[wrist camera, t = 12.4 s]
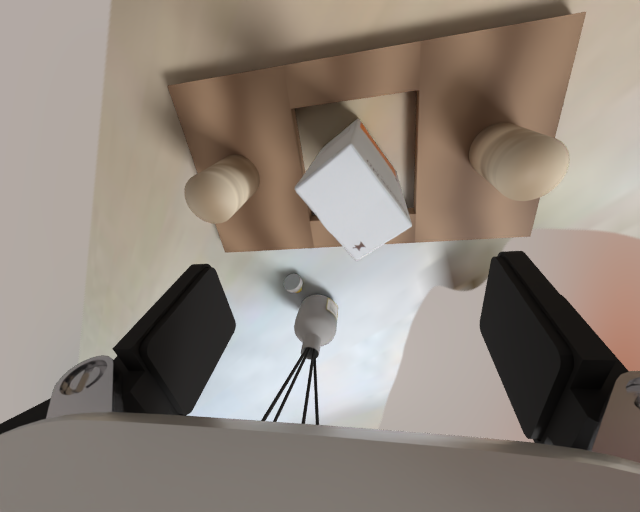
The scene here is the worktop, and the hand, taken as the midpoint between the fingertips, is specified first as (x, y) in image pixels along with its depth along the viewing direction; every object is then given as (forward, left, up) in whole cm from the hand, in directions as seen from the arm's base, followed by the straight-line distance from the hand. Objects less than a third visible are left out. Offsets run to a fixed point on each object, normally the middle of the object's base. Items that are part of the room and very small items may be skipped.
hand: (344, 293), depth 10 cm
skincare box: (0, 0, -20) cm, 20 cm away
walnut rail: (0, 0, -19) cm, 19 cm away
